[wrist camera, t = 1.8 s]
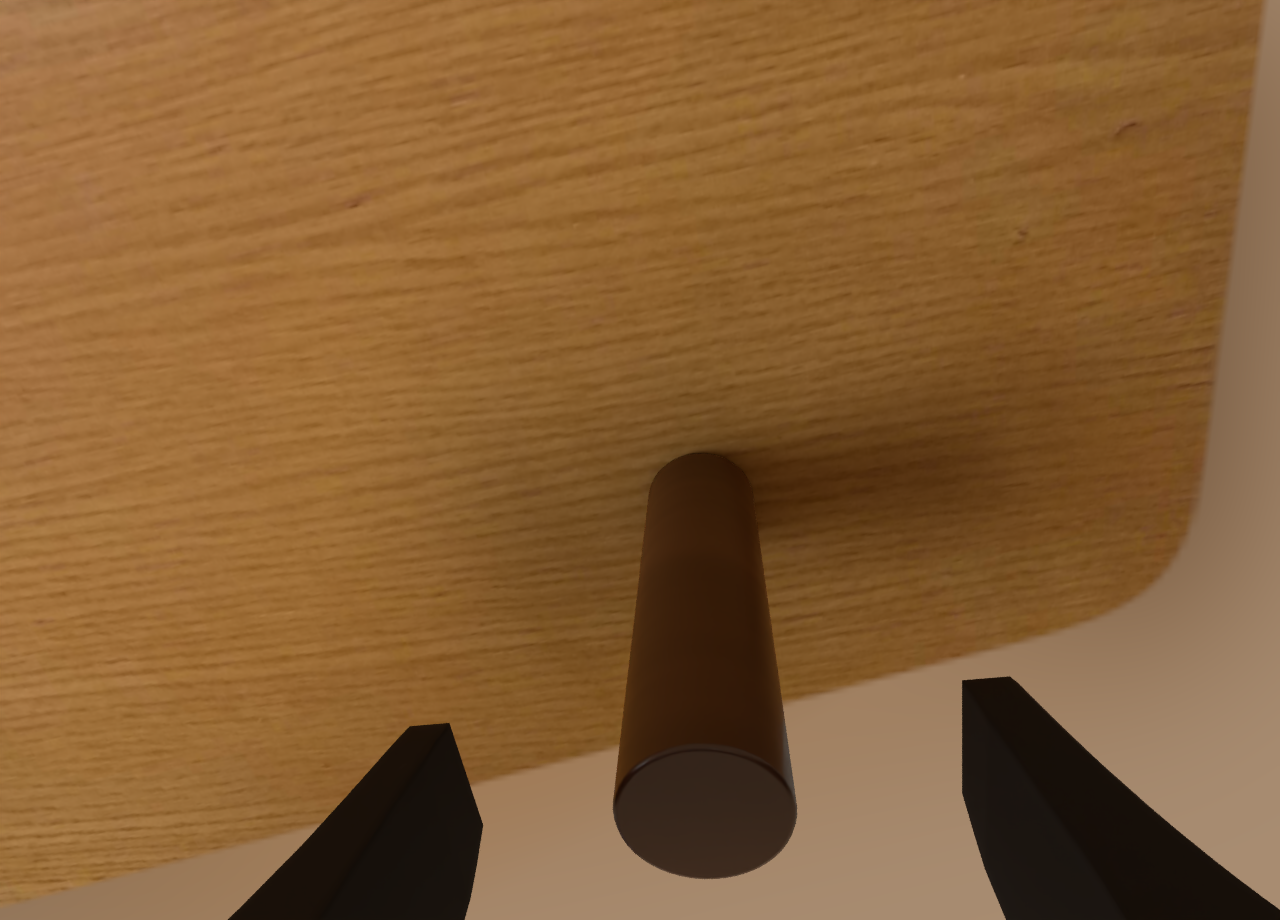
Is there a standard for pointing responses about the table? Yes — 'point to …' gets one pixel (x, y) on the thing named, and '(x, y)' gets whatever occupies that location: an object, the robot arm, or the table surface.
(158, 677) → the table surface
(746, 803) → the brown wooden dowel
